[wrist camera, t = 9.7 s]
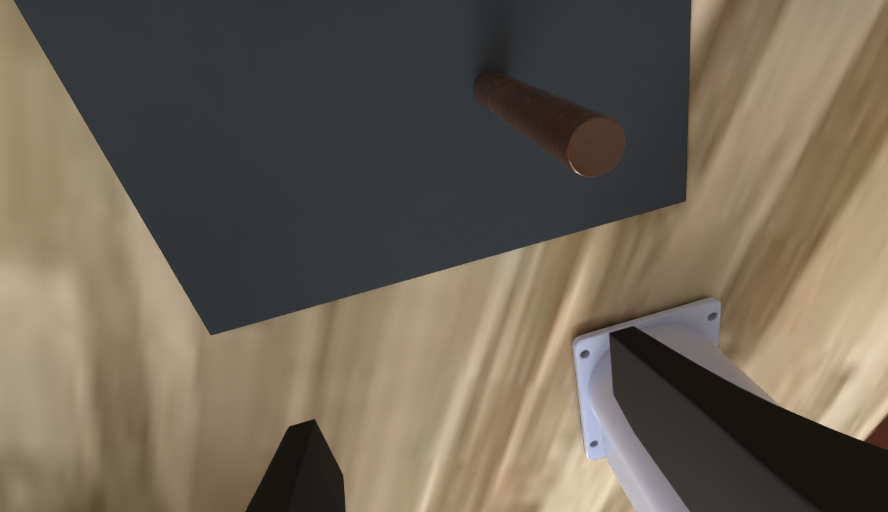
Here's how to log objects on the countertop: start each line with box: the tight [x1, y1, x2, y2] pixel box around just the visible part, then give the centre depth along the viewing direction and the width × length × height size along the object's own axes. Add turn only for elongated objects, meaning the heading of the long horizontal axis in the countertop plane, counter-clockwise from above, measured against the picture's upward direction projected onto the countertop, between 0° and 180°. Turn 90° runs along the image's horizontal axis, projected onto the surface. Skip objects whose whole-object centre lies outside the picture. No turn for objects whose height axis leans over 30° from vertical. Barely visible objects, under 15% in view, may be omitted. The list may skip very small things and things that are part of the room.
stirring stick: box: [474, 70, 625, 177], centre depth 14 cm, size 1×1×9 cm
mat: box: [14, 0, 691, 335], centre depth 18 cm, size 14×22×1 cm, turn 103°
